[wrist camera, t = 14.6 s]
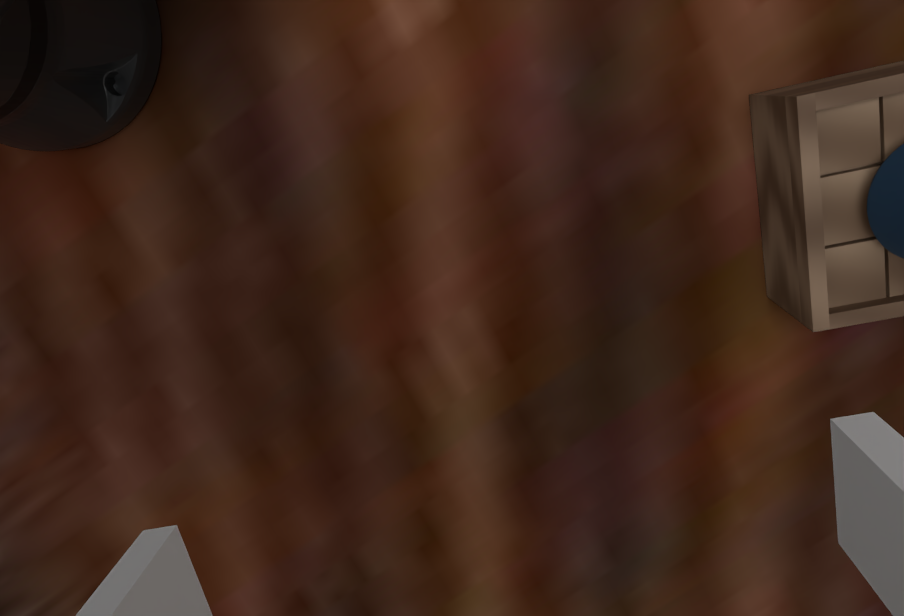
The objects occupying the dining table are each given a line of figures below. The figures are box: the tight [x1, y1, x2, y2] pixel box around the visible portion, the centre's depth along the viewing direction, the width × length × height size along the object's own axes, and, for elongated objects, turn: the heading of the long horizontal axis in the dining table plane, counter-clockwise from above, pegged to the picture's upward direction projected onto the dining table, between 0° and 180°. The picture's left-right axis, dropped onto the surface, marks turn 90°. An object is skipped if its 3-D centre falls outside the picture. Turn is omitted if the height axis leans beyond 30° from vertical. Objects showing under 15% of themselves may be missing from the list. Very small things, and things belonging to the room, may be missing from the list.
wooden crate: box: [749, 61, 904, 332], centre depth 39 cm, size 13×13×7 cm
